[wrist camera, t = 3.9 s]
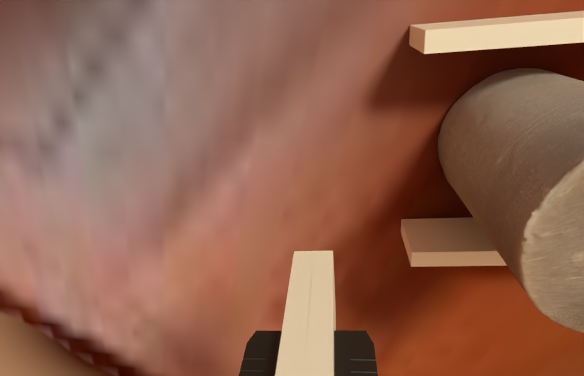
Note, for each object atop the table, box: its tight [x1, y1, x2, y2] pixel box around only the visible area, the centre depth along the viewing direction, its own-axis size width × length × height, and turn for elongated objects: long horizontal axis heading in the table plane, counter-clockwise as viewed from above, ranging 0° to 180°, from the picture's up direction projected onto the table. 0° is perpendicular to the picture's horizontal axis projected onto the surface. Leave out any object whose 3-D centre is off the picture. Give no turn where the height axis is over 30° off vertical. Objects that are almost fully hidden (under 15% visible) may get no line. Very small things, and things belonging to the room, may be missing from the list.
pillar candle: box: [438, 68, 584, 333], centre depth 20 cm, size 10×10×15 cm
